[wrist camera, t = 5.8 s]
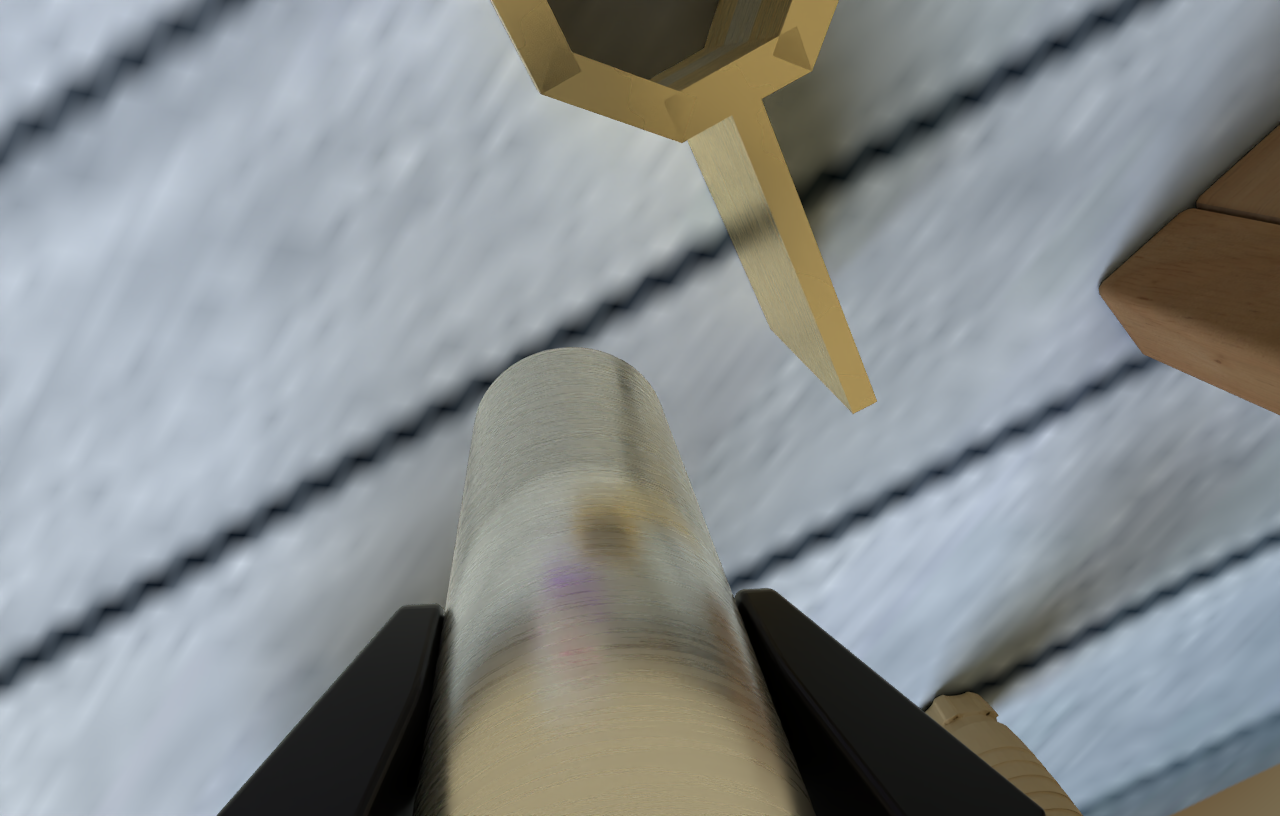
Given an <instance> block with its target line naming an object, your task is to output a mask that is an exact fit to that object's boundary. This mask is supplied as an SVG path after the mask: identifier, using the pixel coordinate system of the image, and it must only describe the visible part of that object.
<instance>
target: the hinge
mask: <svg viewBox="0 0 1280 816" xmlns="http://www.w3.org/2000/svg"><path fill="white" fill-rule="evenodd" d="M490 1H491V3H492V5H493V7H494V8H495V10H496V12H497V14H498V16H499V18H500V20H501V22H502V24H503V26H504V28H505V30H506V31H507V33H508V35H509V37H510V39H511V41H512V43H513V45H514V47H515V49H516V51H517V53H518V54H519V56H520V58H521V60H522V62H523V64H524V66H525V68H526V70H527V72H528V74H529V76H530V77H531V79H532V81H533V83H534V85H535V87H536V89H537V90H538V91H539V93H540V94H542V95H545V96H548V97H551V98H554V99H557V100H560V101H562V102H565V103H568V104H571V105H574V106H577V107H580V108H583V109H586V110H588V111H591V112H594V113H597V114H600V115H603V116H606V117H609V118H611V119H614V120H617V121H620V122H623V123H626V124H629V125H632V126H635V127H637V128H640V129H643V130H646V131H649V132H652V133H655V134H658V135H661V136H663V137H666V138H669V139H672V140H675V141H678V142H680V143H683V142H685V141H686V140H687V141H688V143H689V145H690V147H691V150H692V152H693V154H694V156H695V159H696V161H697V163H698V166H699V168H700V170H701V172H702V175H703V177H704V179H705V181H706V184H707V186H708V188H709V190H710V193H711V195H712V197H713V200H714V202H715V204H716V206H717V209H718V211H719V213H720V215H721V218H722V220H723V222H724V224H725V227H726V229H727V231H728V233H729V236H730V238H731V240H732V243H733V245H734V247H735V249H736V252H737V254H738V256H739V258H740V261H741V263H742V265H743V267H744V270H745V272H746V274H747V277H748V279H749V281H750V283H751V286H752V288H753V290H754V292H755V295H756V297H757V299H758V301H759V304H760V306H761V308H762V310H763V313H764V315H765V317H766V320H767V322H768V324H769V326H770V329H771V330H772V331H773V332H774V333H775V334H776V335H777V336H778V337H779V338H780V339H781V340H782V341H783V342H784V343H785V344H786V345H787V347H788V348H789V349H790V350H791V351H792V352H793V353H794V354H795V355H796V356H797V357H798V358H799V359H800V360H801V361H802V362H803V363H804V364H805V365H806V366H807V367H808V368H809V369H810V370H811V371H812V372H813V373H814V374H815V375H816V376H817V377H818V378H819V379H820V380H821V381H822V382H823V383H824V384H825V385H826V387H827V388H828V389H829V390H830V391H831V392H832V393H833V394H834V395H835V396H836V397H837V398H838V399H839V400H840V401H841V402H842V403H843V404H844V405H845V406H846V407H847V408H848V409H849V410H850V411H851V412H852V413H853V414H854V413H856V412H858V411H860V410H862V409H864V408H866V407H867V406H869V405H871V404H873V403H875V402H877V399H876V397H875V394H874V392H873V389H872V386H871V384H870V381H869V379H868V376H867V373H866V371H865V368H864V366H863V363H862V360H861V358H860V355H859V353H858V350H857V347H856V345H855V342H854V339H853V337H852V334H851V332H850V329H849V326H848V324H847V321H846V319H845V316H844V313H843V311H842V308H841V306H840V303H839V300H838V298H837V295H836V293H835V290H834V287H833V285H832V282H831V279H830V277H829V274H828V272H827V269H826V266H825V264H824V261H823V259H822V256H821V253H820V251H819V248H818V246H817V243H816V240H815V238H814V235H813V233H812V230H811V227H810V225H809V222H808V219H807V217H806V214H805V212H804V209H803V206H802V204H801V201H800V199H799V196H798V193H797V191H796V188H795V186H794V183H793V180H792V178H791V175H790V173H789V170H788V167H787V165H786V162H785V159H784V157H783V154H782V152H781V149H780V146H779V144H778V141H777V139H776V136H775V133H774V131H773V128H772V126H771V123H770V120H769V118H768V115H767V113H766V110H765V107H764V105H763V102H762V98H764V97H766V96H768V95H770V94H771V93H773V92H775V91H777V90H779V89H780V88H782V87H784V86H786V85H788V84H789V83H791V82H793V81H795V80H797V79H799V78H800V77H802V76H804V75H806V74H808V73H809V72H811V71H812V70H813V67H814V65H815V62H816V59H817V57H818V54H819V51H820V49H821V46H822V43H823V41H824V38H825V35H826V33H827V30H828V28H829V25H830V22H831V20H832V17H833V14H834V12H835V9H836V6H837V4H838V1H839V0H719V2H718V5H717V8H716V11H715V14H714V18H713V21H712V24H711V27H710V30H709V33H708V36H707V39H706V43H705V46H704V49H702V50H700V51H698V52H697V53H695V54H693V55H691V56H690V57H688V58H686V59H684V60H682V61H681V62H679V63H677V64H675V65H674V66H672V67H670V68H668V69H666V70H665V71H663V72H661V73H659V74H658V75H656V76H654V77H652V78H650V79H649V80H647V79H644V78H641V77H639V76H636V75H633V74H631V73H628V72H625V71H622V70H620V69H617V68H614V67H611V66H609V65H606V64H603V63H601V62H598V61H595V60H592V59H590V58H587V57H584V56H581V55H579V54H576V53H573V52H572V51H571V49H570V47H569V45H568V43H567V41H566V39H565V36H564V34H563V32H562V30H561V28H560V26H559V24H558V22H557V20H556V18H555V16H554V14H553V12H552V10H551V8H550V6H549V4H548V2H547V0H490Z"/></svg>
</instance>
